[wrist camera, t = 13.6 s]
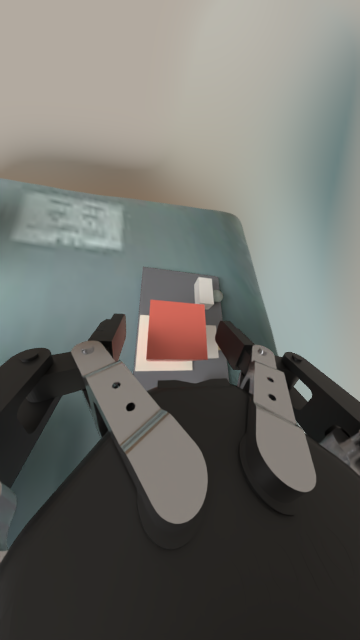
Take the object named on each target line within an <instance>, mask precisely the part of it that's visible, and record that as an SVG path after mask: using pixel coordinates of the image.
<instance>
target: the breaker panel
mask: <svg viewBox="0 0 360 640" xmlns="http://www.w3.org/2000/svg"><path fill="white" fill-rule="evenodd" d="M222 299H223V294H222V292H221V291H219V281H218V277H215V276H208V275H200V274H193V273H185V272H178V271H171V270H163V269H156V268H148V267H143V272H142V283H141V294H140V305H139V316H138V327H137V338H136V349H135V360H134V371H133V375H134V377H135V378H136V379H137V380H138V381H139V383H140V384H141V385H142V386H143V388H144V389H145V390H146V391H148V390H149V389H152V388H154V387H157V382H158V380H179V381H184V382H190V383H199V382H202V381H206V380H209V379H222V378H227V379H228V381H229V376H228V367H227V359H226V357H225V356H224V354H223V353H222V351H221V349H220V348H219V346H218V345H217V343H216V341H215V335H216V331H217V328H218V325H219V322H220V321H223V319H222V310H221V300H222ZM150 300H160V301H171V302H182V303H192V304H203V305H205V321H206V338H207V355H208V360H197V361H147V360H146V354H147V341H148V327H149V313H150Z"/></svg>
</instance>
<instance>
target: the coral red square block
mask: <svg viewBox="0 0 360 640" xmlns="http://www.w3.org/2000/svg"><path fill="white" fill-rule="evenodd" d="M146 360H147V361H197V360H208V355H207V338H206V321H205V305H203V304H192V303H182V302H171V301H160V300H150V313H149V327H148V341H147V354H146Z"/></svg>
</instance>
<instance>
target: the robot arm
mask: <svg viewBox="0 0 360 640" xmlns="http://www.w3.org/2000/svg"><path fill="white" fill-rule="evenodd" d="M125 338H126V316H125V314H114V315H113V317H112V318H111V320H110V319H106V320H104V321H103V322H101V323H100V325H99V326H98V327H97V329H96V331H94V333H93V334H92V335H91V337H90V338H89V340H88V341H85V342H82V343H79V344H77V345H76V346H74V347H73V349H72V350H71V352H67V353H62V354H56V355H51V352H50V350H48V349H46V348H34V349H29V350H26V351H23V352H20V353H18V354H16V355H15V356H13V357H11V358H10V359H9V360H8V361H7V362H5V363H4V364H3V365H2V366H1V367H0V640H360V402H359V401H358V400H357V399H355V398H354V397H353V396H351V395H350V394H349V393H348V392H346V391H345V390H344V389H342V388H341V387H340V386H339V385H338V384H336V383H335V382H334V381H332V380H331V379H330V378H328V377H327V376H326V375H325V374H324V373H322V372H321V371H320V370H318V369H317V368H316V367H314V366H313V365H312V364H311V363H310V362H308V361H307V360H306V359H304V358H303V357H301V356H299V355H297V354H295V353H292V352H286V353H285V354H284V356H283V357H279V356H274V353H273V352H272V351H271V350H269V349H268V348H266V347H264V346H261V345H255V344H254V343H253V342H252V341H251V340H250V339H249V338H248V337H246V335H245V334H243V333H242V332H241V331H240V330H239V329H238V328H236V327H235V326H234V325H233V324H232V323H231V322H230V321H220V322H219V325H218V328H217V331H216V335H215V341H216V343H217V345H218V346H219V348H220V349H221V351H222V353H223V354H224V356H225V357H226V359H227V361H228V362H229V364H230V365H231V367H232V368H233V370H241V372H240V374H239V379H238V385H237V386H235V385H231V384H230V383H229V381H228V379H227V378H222V379H209V380H206V381H202V382H199V383H190V382H184V381H179V380H158V382H157V387H154V388H152V389H149V390H148V391H146V390H145V389H144V388H143V386H142V385H141V384H140V383H139V381H138V380H137V379H136V378H135V377H134V375H133V374H132V373H131V372H130V370H129V369H128V368H127V367H126V366H125V364H124V363H123V362H122V361H121V360H119V361H118V359H119V356H120V353H121V350H122V347H123V344H124V341H125ZM299 379H300V380H301V381H302V382H303V383H304V384H305V385H306V386H307V387H308V388H309V389H310V390H311V392H312V398H311V399H310V400H309V402H307V401H306V400H305V399H304V397H303V396H302V395H301V394H300V393H299V392H298V391H297V390H296V389H295V388H294V387H293V386H294V385H295V384H296V382H297V381H298V380H299ZM79 390H81V391H82V393H83V396H84V398H85V400H86V403H87V405H88V407H89V410H90V412H91V414H92V417H93V419H94V423H95V425H96V428H97V431H98V433H99V436H100V438H101V439H100V441H99V442H98V443H97V444H96V445H95V446H94V447H93V449H92V450H91V451H90V452H89V453H88V454H87V455H86V457H85V458H84V459H83V460H82V461H81V462H80V463H79V465H78V466H77V467H76V468H75V469H74V470H73V471H72V473H71V474H70V475H69V476H68V477H67V478H66V479H65V481H64V482H63V483H62V484H61V485H60V486H59V487H58V489H57V490H56V491H55V492H54V493H53V494H52V495H51V497H50V498H49V499H48V500H47V501H46V502H45V503H44V505H43V506H42V507H41V508H40V509H39V510H38V511H37V513H36V514H35V515H34V516H33V517H32V518H31V520H30V521H29V522H28V523H27V525H26V526H25V527H24V528H23V530H22V531H21V533H20V534H19V535H18V537H17V538H16V539H15V541H14V542H13V544H12V545H11V547H10V548H9V550H8V547H7V534H8V530H9V526H10V524H11V521H12V518H13V516H14V513H15V510H16V506H17V497H16V494H15V493H14V492H13V491H12V490H11V489H10V488H11V486H12V484H13V483H14V481H15V479H16V477H17V475H18V474H19V472H20V470H21V468H22V466H23V465H24V463H25V461H26V459H27V457H28V456H29V454H30V452H31V450H32V449H33V447H34V445H35V443H36V441H37V440H38V438H39V436H40V434H41V432H42V431H43V429H44V427H45V425H46V424H47V422H48V420H49V418H50V416H51V415H52V413H53V411H54V409H55V407H56V406H57V404H58V402H59V400H60V398H61V397H62V395H65V394H69V393H72V392H76V391H79ZM295 420H296V421H297V422H298V424H299V425H300V426H301V427H299V426H298V425H297V423H296V421H295ZM302 429H303V430H304V431H303V430H302ZM304 432H305V433H306V434H305V433H304Z"/></svg>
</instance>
